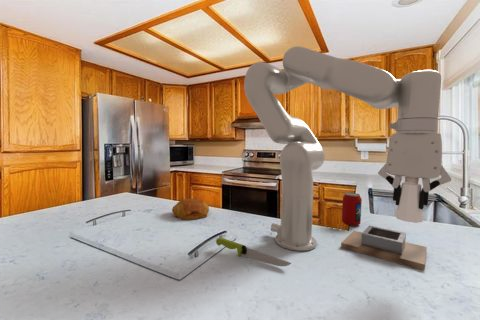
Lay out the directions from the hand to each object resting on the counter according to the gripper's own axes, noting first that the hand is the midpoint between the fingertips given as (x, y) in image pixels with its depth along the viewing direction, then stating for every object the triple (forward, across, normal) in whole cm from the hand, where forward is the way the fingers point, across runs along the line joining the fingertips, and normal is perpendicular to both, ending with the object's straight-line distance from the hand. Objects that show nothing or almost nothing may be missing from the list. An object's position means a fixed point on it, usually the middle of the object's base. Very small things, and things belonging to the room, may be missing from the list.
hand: (409, 205), depth 56 cm
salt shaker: (+3, 0, 0) cm, 3 cm away
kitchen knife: (+18, -32, -19) cm, 41 cm away
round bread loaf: (+18, -75, -5) cm, 77 cm away
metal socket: (+15, -7, +13) cm, 21 cm away
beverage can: (+17, -21, +31) cm, 42 cm away
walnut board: (+17, -7, +13) cm, 22 cm away
